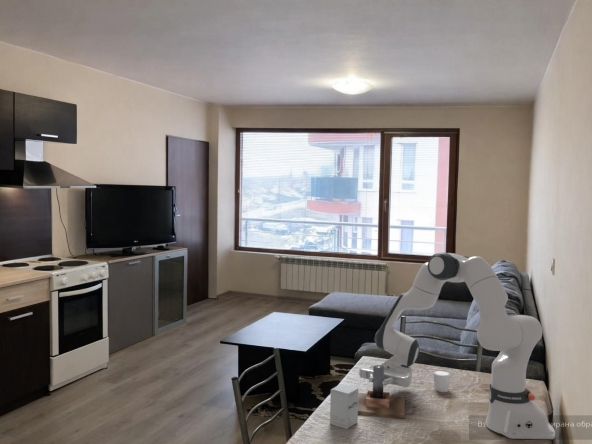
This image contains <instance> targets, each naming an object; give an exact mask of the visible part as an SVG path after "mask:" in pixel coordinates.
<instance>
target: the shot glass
mask: <svg viewBox="0 0 592 444" xmlns="http://www.w3.org/2000/svg"><path fill="white" fill-rule="evenodd" d="M450 381H451V373H450V372H449V371H446V370H435V371H433V384H434V386H433V388H434V390H435V391H436V392H440V393H441V392H442V393H446V392H449V390H450V389H449V388H450Z"/></svg>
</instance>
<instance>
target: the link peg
mask: <svg viewBox="0 0 592 444" xmlns="http://www.w3.org/2000/svg"><path fill="white" fill-rule="evenodd" d="M383 380H384V366H381V364H375V365H374V364H373V382H372V391H373V398H378V399H383V392H384V385H382V381H383Z"/></svg>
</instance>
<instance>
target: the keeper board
mask: <svg viewBox="0 0 592 444" xmlns="http://www.w3.org/2000/svg"><path fill="white" fill-rule="evenodd" d="M405 405H406V397H405V396H399V395H391V394H390V392H388V391H383V399H378V398H373V390H367V392H366V393H364V392H358V415H362V414H364V416H372V415H375V417H384V418H385V417H386V418H396V419H405V417H406V415H405V414H406V410H405V409H406V406H405Z"/></svg>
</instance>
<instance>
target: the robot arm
mask: <svg viewBox="0 0 592 444" xmlns="http://www.w3.org/2000/svg"><path fill="white" fill-rule="evenodd" d="M446 282H448V283H457V284H458V283H460V284H463V283H464V284H466V286H467V288H468V290H469V292H470V294H471V296H472V298H473V300H474V302H475V305H476V307H477V309H478V313H479V317H480V320H479V324H478V326H477V330H476V339H477V342H478V343H479V344H480V346H481V347H482V348H483V349H485V350H487V351H494V352H495V351H496V352H497V351H498V352H499V351H500V352H499V354H498V355H497V357H495V358H494V360H493V362H492V363H491V377H490V378H491V379H490V380H491V381H490V382H491V383H490V384H489V389H488V391H489V392H488V399H489V406H488V411H487V414H486V415H487V416H486V419H485V421H484V425H485V427H486V428H488V429H489V430H490V431H493V432H495V433H496V434H497V433H498V434H500V435H503V436H505V437H506V438H509V439H511V440H512V439H517V440H518V439H522V440H525V439H526V440H528V439H531V440H554V439H555V438H556V437H557V436H556V431H555V429H554V427H553V426H552V425H551V424H550V423H549V419H548V417H547V414H546V413H545V411H544V410H543V409H542V408H541V407H540V406H539V405H538V404H536V402H534V401H535V400H536V396H535V395H534V393H532V392H531V390H529V389H528V388H527V387H526V379H527V368H528V364H529V360H530V357H531V355H532V352H533V350H534V349H535V346H536V345H537V344H538V342H539V341H540V340H541V339H542V337H543V334H544V333H543V332H544V331H543V326H542V325H541V322H540V321H539V319H537V318H536V317H534V316H530V315H526V314H525V315H524V314H517V315H508V312H507V310H506V305H507V303H508V300H509V296H508V293H507V291H506V290H505V287H504V285H503V284H502V282H501V281H500V279H499V277H498V275H497V274H496V271H495V270H494V269H493V268H492V266H491V265H490V264H489V263H488V261H487V260H486V259H485V258H484V257H482V256H479V255H475V256H471V257H469V256H466V255H461V254H457V253H452V252H442V251H441V252H437V253H434V254H432V255H431V256H430V257H429V259H428V261H427V262H424V263H423V264H422V265H421V267H420V268H419V270H418V272H417V274H416V276H415V278H414V280H413V283H412V286H411V287H410V289H409V290H408V291H407V292H403V293H401V294H400V295H399V297H398V298H397V299H396V300H395V302H394V303H393V306H392V307H391V309H390V310H389V312H388V313H387V316H386V317H385V319H384V321H383V323H382V324H381V326H380V327H379V328H378V330H377V331H376V333H375V336H374V342H375V346H376V347H377V349H380V350H382V351H385V352H387V353H389V354H391V355H393V356H391V357H390V358H388V359H387V360H385V361H384V362H382V364H380V365H381V366H384V380H383V381H382V385H383V386H387V385H393V386H399V387H403V388H408V387H410V385H411V383H412V381H413V379H412V378H413V377H412V376H413V375H412V374H413V370H412V366H413V365H414V364H415V363H416V361H417V359H418V357H419V354H420V350H421V349H420V343H419V341H418V340H417V339H416V338H414V337H412V336H410V335H408V334H406V333H403V332H401V331H398V330H397V329H396V328H395V325H396V323H397V322H398V319H399V318H400V316H401V315H402V313H403V312H404V311H406V310H413V311H423V310H428V309H430V308H432V307H433V306H435V305H436V303H437V301H438V299H439V296H440V293H441V291H442V288H443V286H444V284H445V283H446ZM373 366H374V364H373V365H372V364H365V365H364V366H361V367H360V368H359V371H358V372H359V373H358V375H359V377H360V379H366V380H368V382H369V383H373Z"/></svg>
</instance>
